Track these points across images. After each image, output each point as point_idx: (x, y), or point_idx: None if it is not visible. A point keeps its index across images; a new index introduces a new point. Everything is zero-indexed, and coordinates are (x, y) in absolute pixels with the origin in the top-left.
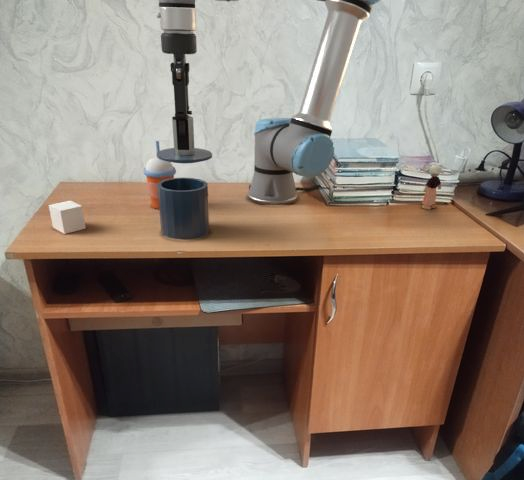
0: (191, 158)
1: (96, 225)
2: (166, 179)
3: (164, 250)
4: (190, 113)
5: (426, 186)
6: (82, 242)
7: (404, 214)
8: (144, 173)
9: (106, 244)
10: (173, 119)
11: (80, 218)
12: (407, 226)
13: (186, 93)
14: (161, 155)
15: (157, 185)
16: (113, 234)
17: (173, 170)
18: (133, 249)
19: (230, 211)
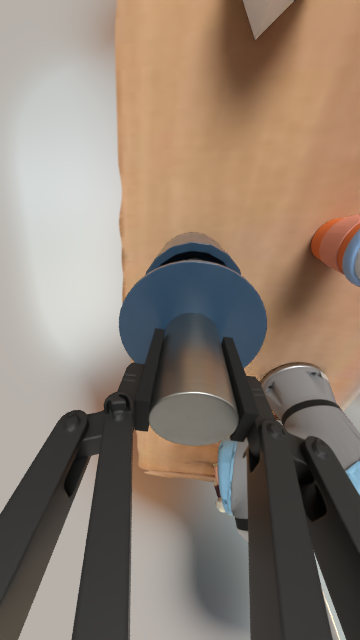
0: (137, 345)
1: (268, 75)
2: (235, 265)
3: (126, 234)
4: (244, 452)
5: (215, 485)
6: (168, 43)
7: (205, 451)
8: None
9: (153, 117)
10: (113, 394)
11: (260, 1)
12: (178, 444)
13: (250, 584)
14: (172, 276)
15: (191, 242)
16: (204, 131)
17: (357, 283)
18: (129, 179)
19: None
